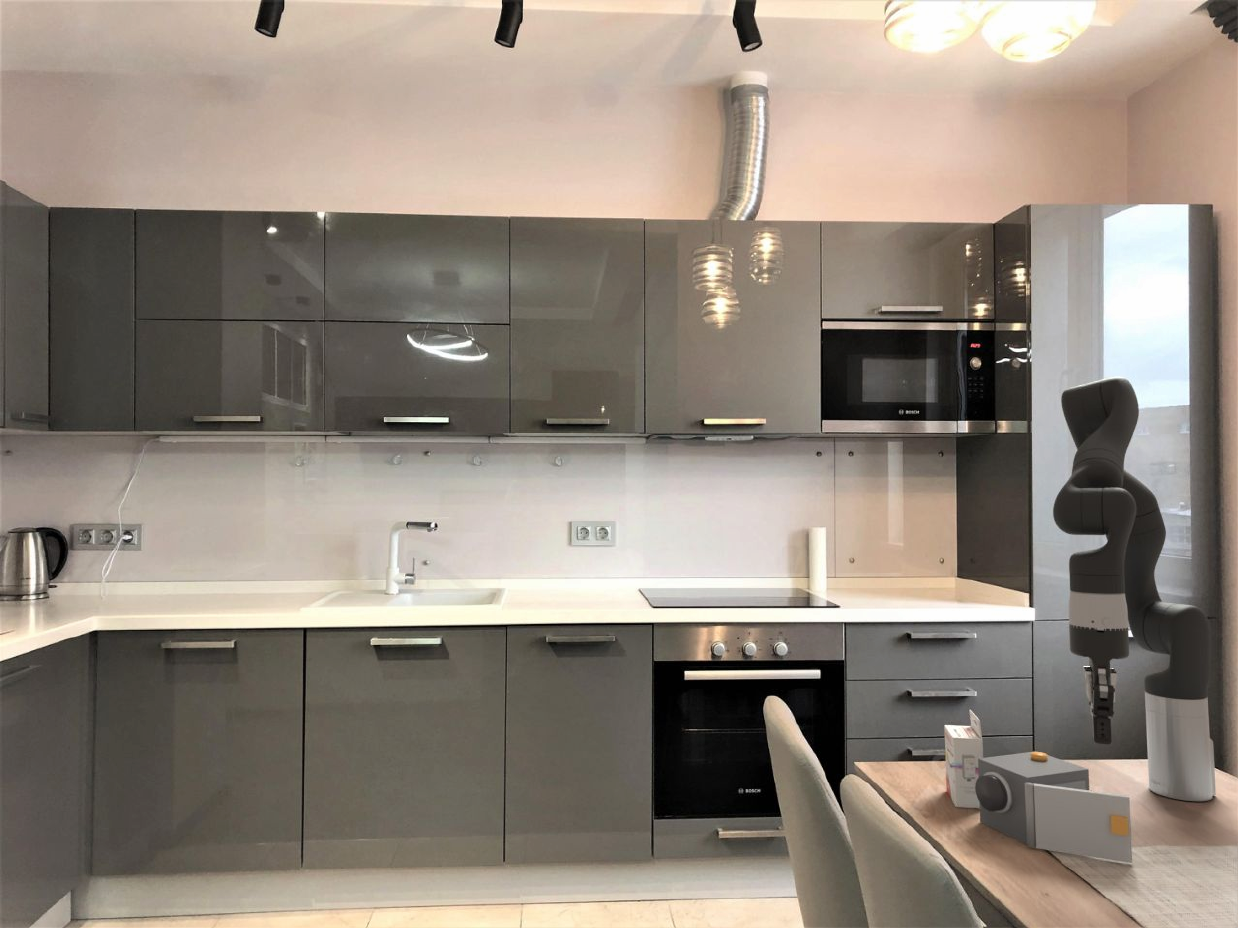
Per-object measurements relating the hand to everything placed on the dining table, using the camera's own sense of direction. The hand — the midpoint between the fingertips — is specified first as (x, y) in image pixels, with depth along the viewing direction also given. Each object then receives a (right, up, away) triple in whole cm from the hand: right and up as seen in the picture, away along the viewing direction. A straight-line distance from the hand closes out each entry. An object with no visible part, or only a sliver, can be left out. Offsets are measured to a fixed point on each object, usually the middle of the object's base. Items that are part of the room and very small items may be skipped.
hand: (1102, 742), depth 118 cm
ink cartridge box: (-11, -18, +22) cm, 30 cm away
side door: (-4, -16, -1) cm, 16 cm away
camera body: (-5, -17, +9) cm, 20 cm away
